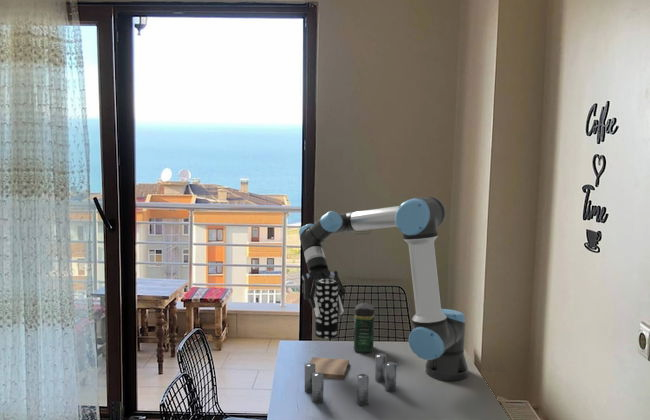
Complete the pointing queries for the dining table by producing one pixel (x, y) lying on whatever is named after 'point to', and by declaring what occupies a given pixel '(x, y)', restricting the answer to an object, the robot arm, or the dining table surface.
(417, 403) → the dining table surface
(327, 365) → the square wooden board
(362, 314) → the coffee jar
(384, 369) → the spacer posts
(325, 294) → the spotted tube
